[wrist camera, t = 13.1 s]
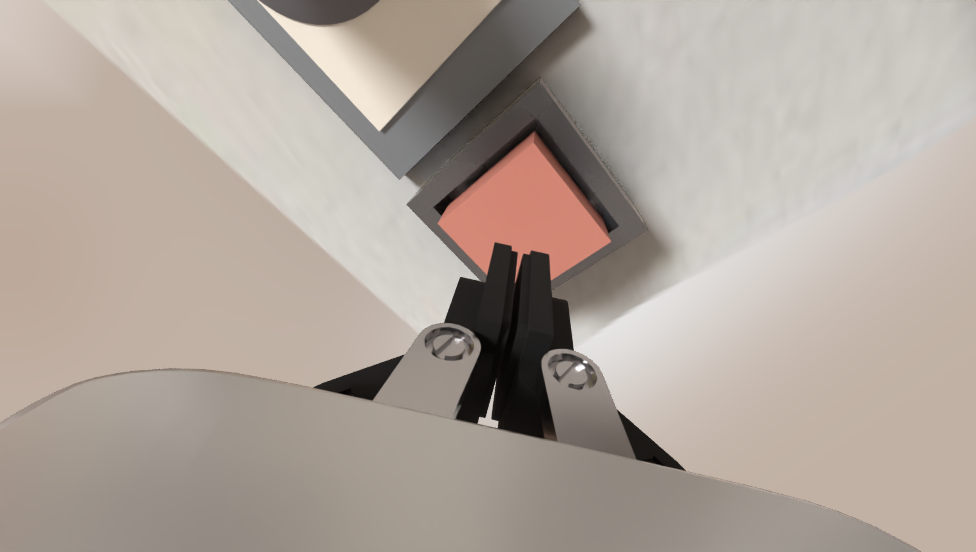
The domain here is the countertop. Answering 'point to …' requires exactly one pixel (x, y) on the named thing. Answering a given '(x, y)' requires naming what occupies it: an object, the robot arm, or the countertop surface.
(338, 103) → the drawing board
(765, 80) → the countertop surface
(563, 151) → the button housing
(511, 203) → the button
